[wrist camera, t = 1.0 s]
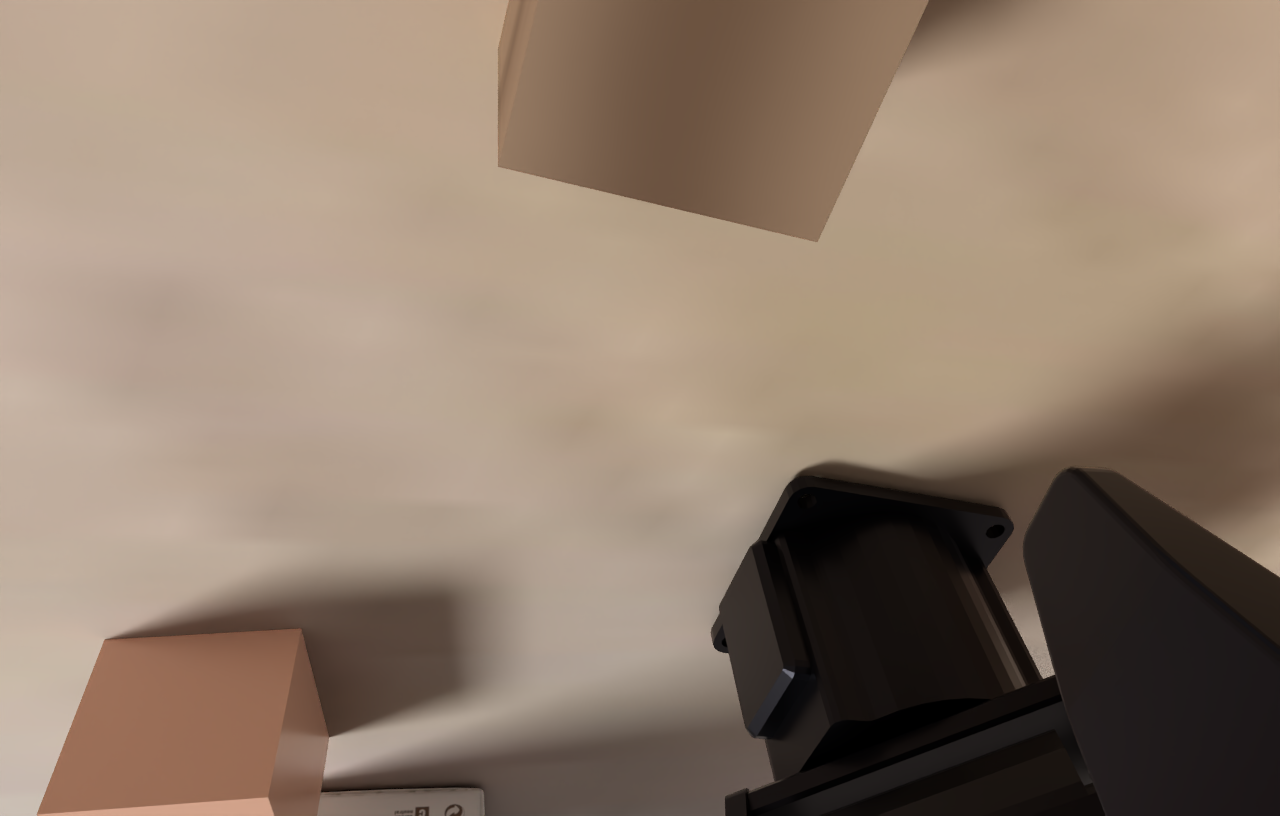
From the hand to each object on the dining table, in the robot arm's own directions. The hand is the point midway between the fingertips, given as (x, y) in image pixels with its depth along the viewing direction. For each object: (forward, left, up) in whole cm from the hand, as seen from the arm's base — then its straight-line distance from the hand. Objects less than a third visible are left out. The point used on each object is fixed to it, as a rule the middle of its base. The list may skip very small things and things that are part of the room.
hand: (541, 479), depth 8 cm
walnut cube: (-2, -2, -12) cm, 13 cm away
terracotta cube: (+4, +20, -12) cm, 24 cm away
